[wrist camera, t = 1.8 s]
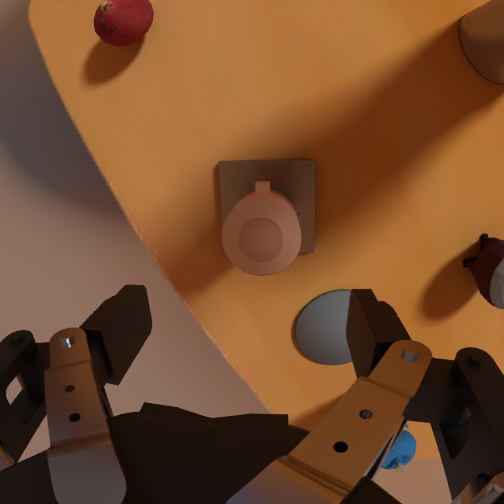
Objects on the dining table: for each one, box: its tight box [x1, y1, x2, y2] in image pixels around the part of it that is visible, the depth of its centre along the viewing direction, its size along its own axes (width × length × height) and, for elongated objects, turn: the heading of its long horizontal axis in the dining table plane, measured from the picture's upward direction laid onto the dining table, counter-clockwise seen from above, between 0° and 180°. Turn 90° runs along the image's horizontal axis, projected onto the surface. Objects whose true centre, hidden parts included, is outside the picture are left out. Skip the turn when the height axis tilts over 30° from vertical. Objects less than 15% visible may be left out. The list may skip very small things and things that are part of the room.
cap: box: [222, 181, 301, 276], centre depth 23 cm, size 5×7×5 cm
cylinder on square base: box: [219, 160, 316, 253], centre depth 28 cm, size 9×9×7 cm
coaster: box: [295, 289, 352, 365], centre depth 35 cm, size 10×10×1 cm
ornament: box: [381, 423, 416, 474], centre depth 31 cm, size 5×5×15 cm
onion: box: [94, 0, 154, 46], centre depth 22 cm, size 6×6×8 cm
